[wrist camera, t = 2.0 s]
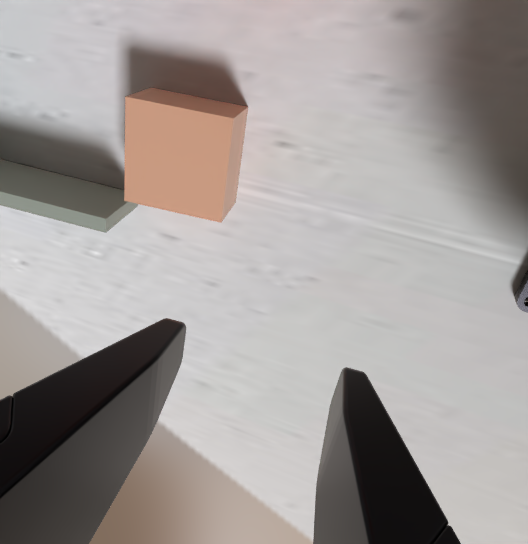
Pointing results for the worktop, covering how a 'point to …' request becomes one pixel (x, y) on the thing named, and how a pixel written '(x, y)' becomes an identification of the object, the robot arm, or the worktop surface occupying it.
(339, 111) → the worktop surface
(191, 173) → the tile
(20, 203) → the tray
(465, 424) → the worktop surface
